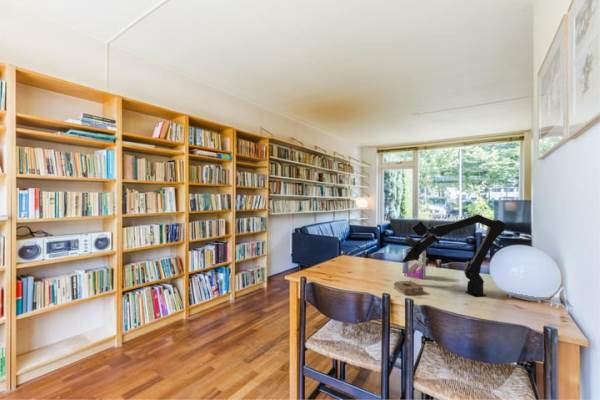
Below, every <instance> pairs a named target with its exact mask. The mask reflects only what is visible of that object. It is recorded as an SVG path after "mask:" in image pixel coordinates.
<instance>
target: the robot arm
mask: <svg viewBox="0 0 600 400" xmlns="http://www.w3.org/2000/svg"><path fill="white" fill-rule="evenodd" d="M475 224H481V225H483V226H486V227H487V228H486V233H485V236H484V238H483V240H482V242H481V243H480V245H479V247H478V249H477V251H476V253H475V255H474V256H473V258H472V260H470V261H468V260H467V261H466V262H465V263H466V264H465V265H464V266H463V267H462V268H463V273H464V274H465V277H466V279H468V281H467V286H466V287H467V288H466V289H467V290H465V293H466V294H467V295H471V296H472V297H477V298H478V297H486V296H487V294H485V293H484V282H485V281H484V279H483V277H482V276H481V275H480V274H481V273H480V272H481V269H482V264H483V263H484V261H485V258H487V257H486V256H487V255H488V253H489V252H490V250H491V248H492V246H493V244H494V242H495V240H496V239H498V238H499V237H500V236H501V234H502V233H504V231H505V229H506V224H505V222H503V221H502V220H500V219H490V218H489V217H485V216H483V215H481V214H479V213H476V214H474V215H472V216H468V217H465V218H463V219H459V220H456V221H453V222H450V223H448V222H447V223H442V224H437V225H435V226H434V227H433V226H431V227H430V226H429V227H428V226H427V225H425V223H424V222H422V220H419V221H418V222H417V223H415V224H414V225H413V226H412V227H411V228H410V229H411V231H413V233H414V234H416V236H418V237H422V238H420V239H417V240H416V239H414V238H413V237H411V236H408V235H407V236H406V237H405V239H404V241H403V242H404V243H405V244H408V245H409V247H408V249H409V250H408V254H407V255H406V257H405V258H404V259H403V258H402V260H401V261H402V262H401V263H402V264H403V263H404V262H408V261H411V260H418V259H419V257H420V255H421V254H422V252H424V251H425V252H426V250H428V248H430V247H431V246H432V245H433V244H434V243H437V244H438V245H439V244H440V242H441V241H440V240H441V238H442V237H444V236H446V235H448V234H449V233H452V232H454V231H456V230H460V229H462V228H466V227H468V226H472V225H475Z"/></svg>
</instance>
